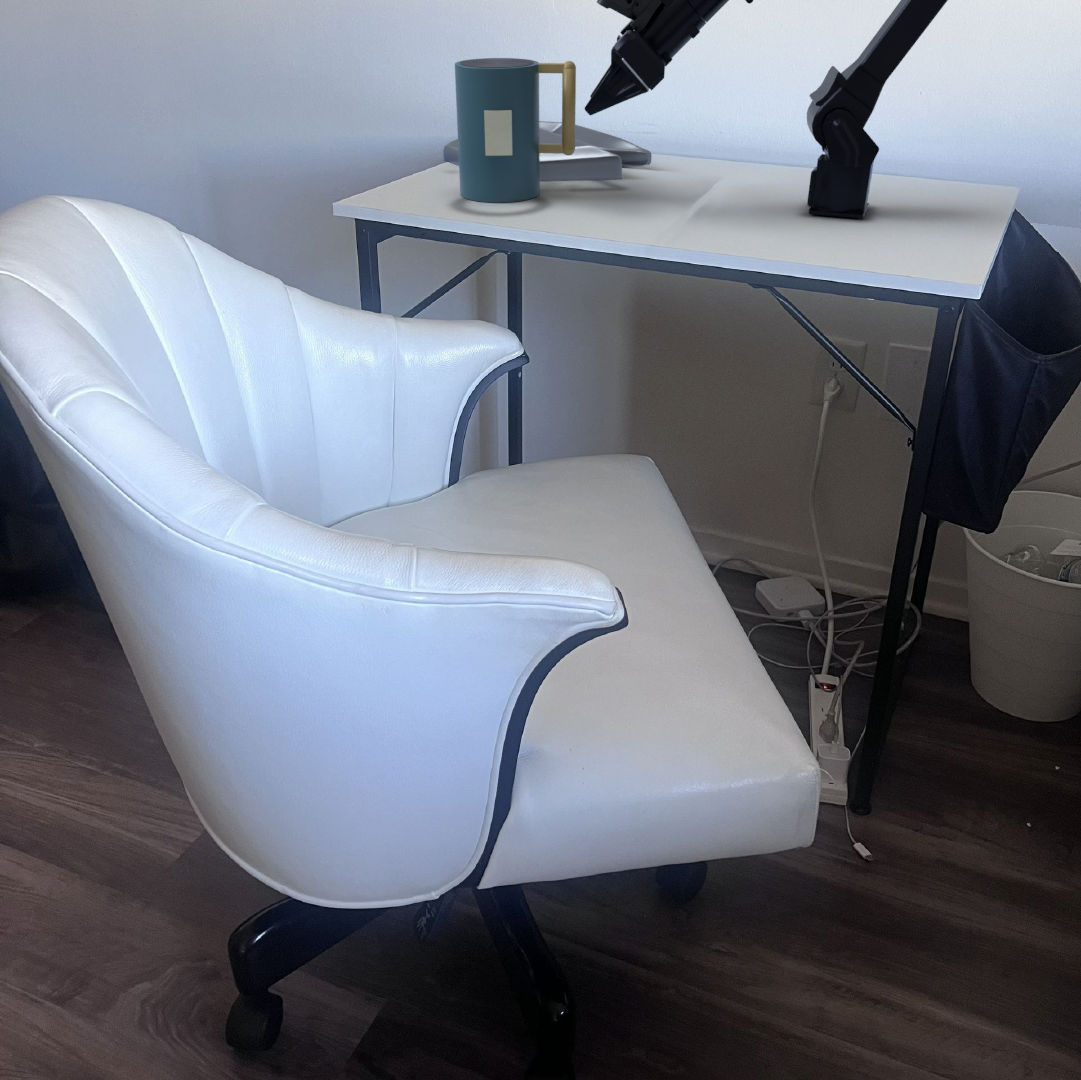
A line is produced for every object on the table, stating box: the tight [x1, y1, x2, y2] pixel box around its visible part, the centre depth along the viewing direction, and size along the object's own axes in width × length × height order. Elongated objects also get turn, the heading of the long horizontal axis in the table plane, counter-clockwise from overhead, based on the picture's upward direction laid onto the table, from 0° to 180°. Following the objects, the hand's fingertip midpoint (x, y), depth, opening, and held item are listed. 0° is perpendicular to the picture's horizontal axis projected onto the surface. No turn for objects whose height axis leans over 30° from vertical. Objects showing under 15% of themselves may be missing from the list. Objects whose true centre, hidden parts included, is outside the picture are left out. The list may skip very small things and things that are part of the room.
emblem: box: [442, 120, 653, 182], centre depth 146 cm, size 28×5×28 cm
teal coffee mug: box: [454, 57, 577, 204], centre depth 125 cm, size 14×10×15 cm
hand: (590, 105), depth 124 cm, fingers open, 9 cm apart
